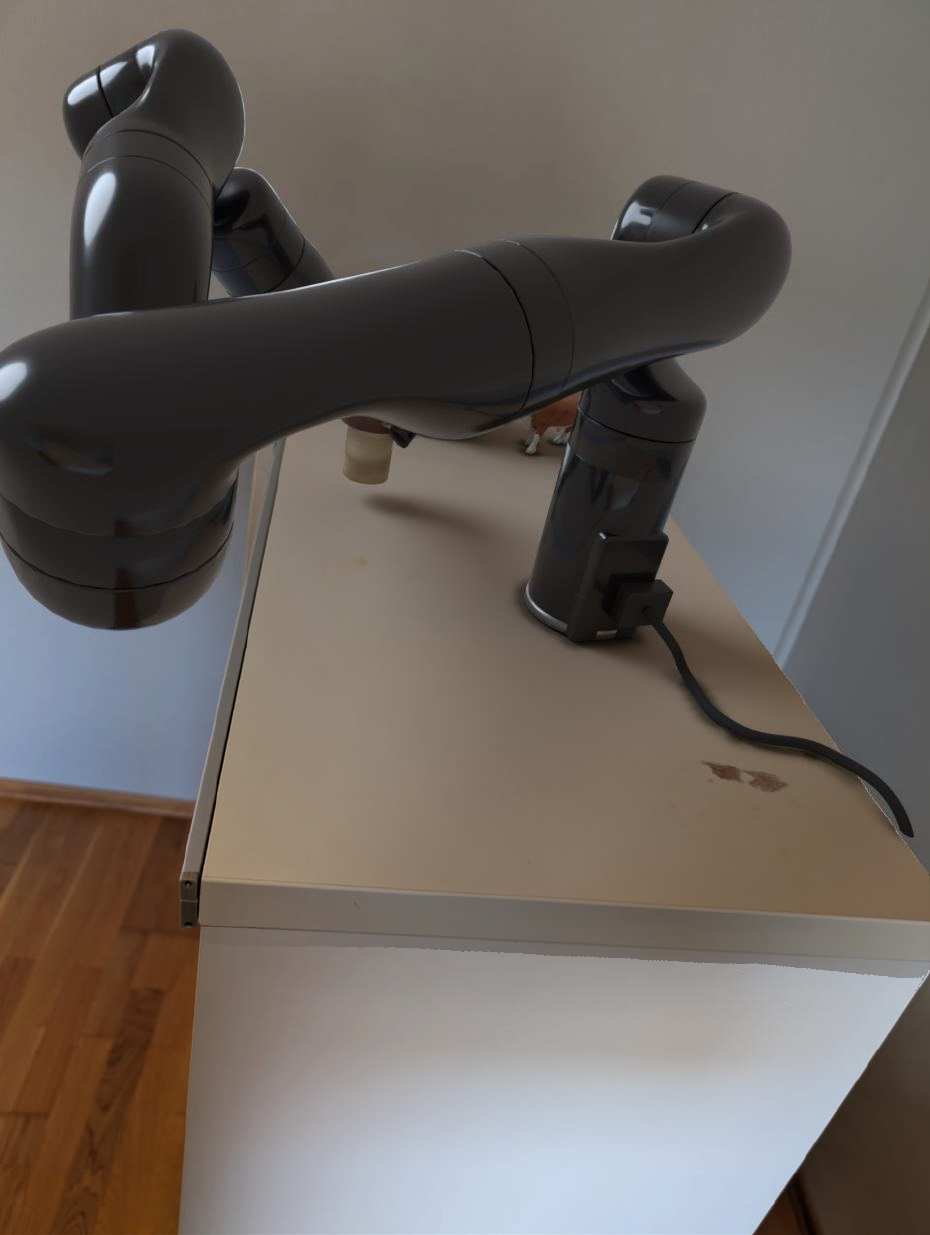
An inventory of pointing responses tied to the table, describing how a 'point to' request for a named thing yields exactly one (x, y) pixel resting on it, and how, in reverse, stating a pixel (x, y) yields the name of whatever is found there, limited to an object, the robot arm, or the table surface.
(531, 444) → the bull figurine
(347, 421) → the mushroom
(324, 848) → the table surface
